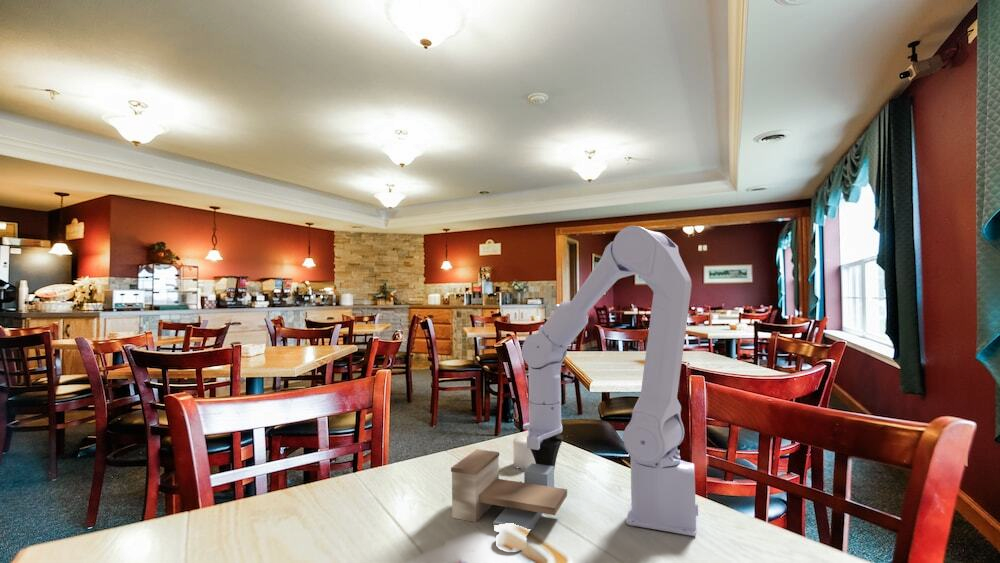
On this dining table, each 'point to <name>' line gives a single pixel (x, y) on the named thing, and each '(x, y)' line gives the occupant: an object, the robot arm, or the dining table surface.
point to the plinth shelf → (496, 489)
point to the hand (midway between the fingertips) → (545, 478)
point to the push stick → (523, 517)
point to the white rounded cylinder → (522, 453)
